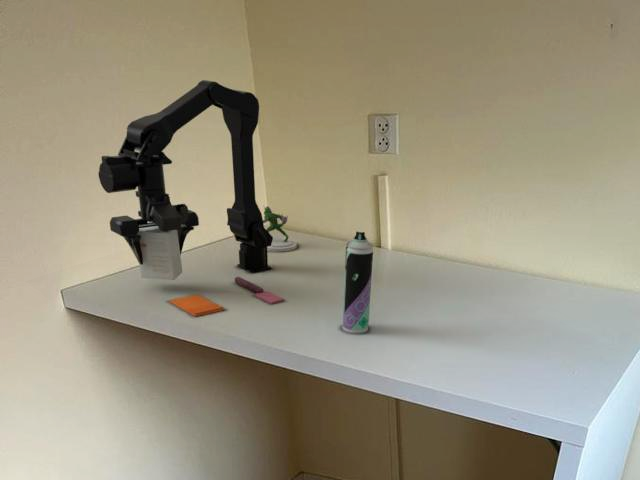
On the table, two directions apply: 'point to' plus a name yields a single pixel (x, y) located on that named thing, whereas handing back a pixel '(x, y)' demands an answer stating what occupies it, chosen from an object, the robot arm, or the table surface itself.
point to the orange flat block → (196, 305)
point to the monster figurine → (278, 242)
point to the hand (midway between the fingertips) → (159, 261)
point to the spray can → (357, 284)
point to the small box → (160, 253)
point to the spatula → (259, 291)
